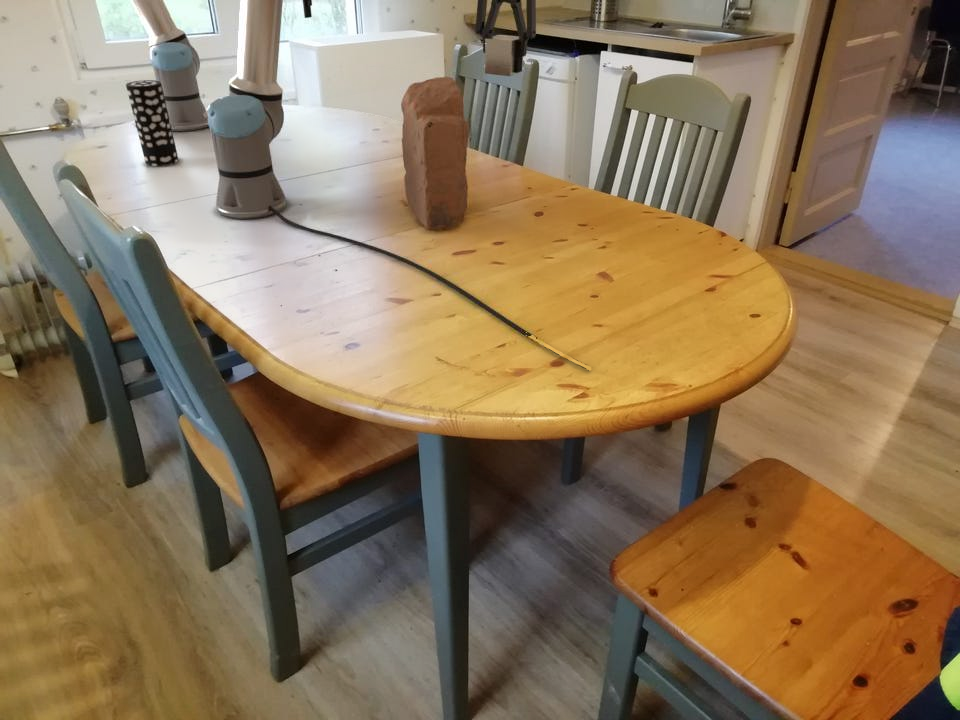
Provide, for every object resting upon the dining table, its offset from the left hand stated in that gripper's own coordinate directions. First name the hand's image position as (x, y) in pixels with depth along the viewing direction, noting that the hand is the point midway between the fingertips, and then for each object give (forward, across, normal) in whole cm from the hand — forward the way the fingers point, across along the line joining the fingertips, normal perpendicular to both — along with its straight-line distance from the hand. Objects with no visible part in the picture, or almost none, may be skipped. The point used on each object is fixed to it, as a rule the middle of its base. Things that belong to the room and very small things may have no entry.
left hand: (291, 16), depth 222 cm
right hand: (+2, -94, +43) cm, 103 cm away
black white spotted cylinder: (+19, -3, +66) cm, 68 cm away
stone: (+29, -88, +67) cm, 114 cm away
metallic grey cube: (+2, -94, +43) cm, 103 cm away
